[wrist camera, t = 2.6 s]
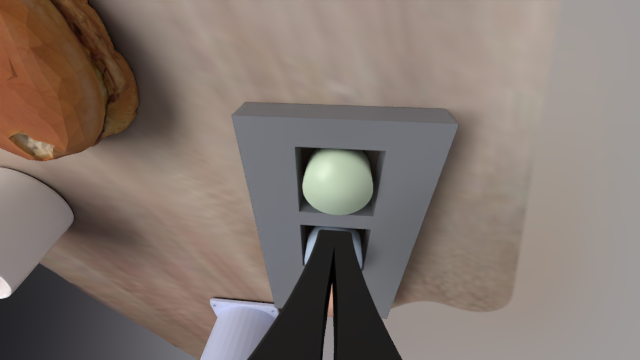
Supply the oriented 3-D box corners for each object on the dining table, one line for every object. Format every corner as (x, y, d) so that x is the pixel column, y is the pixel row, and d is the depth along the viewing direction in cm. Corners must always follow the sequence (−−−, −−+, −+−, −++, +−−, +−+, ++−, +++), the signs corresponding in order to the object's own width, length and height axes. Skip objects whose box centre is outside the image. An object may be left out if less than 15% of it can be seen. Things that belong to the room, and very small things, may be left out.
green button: (366, 196, 16) (368, 217, 15) (308, 192, 17) (303, 212, 15) (374, 143, 14) (378, 161, 12) (306, 140, 14) (300, 158, 13)
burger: (-36, -136, 9) (-297, -228, 5) (175, 74, 13) (108, 103, 10) (-65, 40, 13) (-224, 56, 10) (102, 158, 17) (36, 202, 14)
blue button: (358, 258, 19) (359, 281, 18) (308, 254, 20) (305, 277, 18) (363, 224, 17) (365, 247, 15) (307, 220, 17) (303, 242, 16)
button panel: (384, 298, 25) (386, 318, 23) (279, 288, 26) (275, 307, 24) (445, 109, 13) (458, 124, 11) (245, 102, 14) (231, 115, 12)
